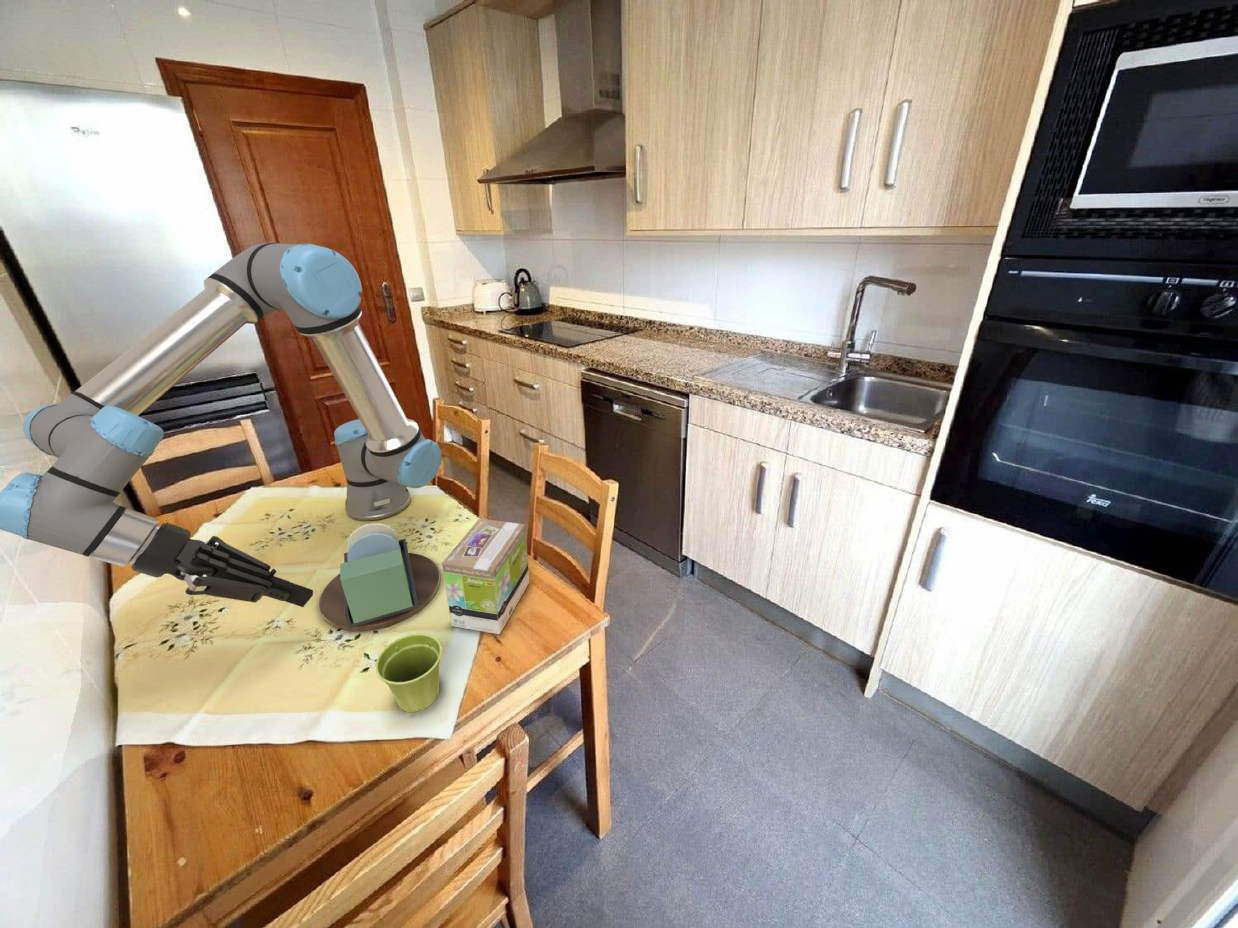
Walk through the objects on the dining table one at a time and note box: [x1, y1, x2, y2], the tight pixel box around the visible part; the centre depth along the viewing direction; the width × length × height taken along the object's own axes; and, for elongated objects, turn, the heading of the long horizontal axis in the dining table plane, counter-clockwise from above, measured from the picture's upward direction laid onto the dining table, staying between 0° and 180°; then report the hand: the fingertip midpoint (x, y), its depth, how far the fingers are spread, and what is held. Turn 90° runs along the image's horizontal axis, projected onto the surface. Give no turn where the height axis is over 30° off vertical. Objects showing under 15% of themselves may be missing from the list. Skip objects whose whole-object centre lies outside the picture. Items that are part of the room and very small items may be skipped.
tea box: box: [441, 517, 530, 635], centre depth 94 cm, size 15×10×15 cm, turn 168°
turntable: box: [318, 552, 441, 632], centre depth 101 cm, size 22×22×1 cm
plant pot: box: [374, 633, 443, 713], centre depth 77 cm, size 9×9×9 cm
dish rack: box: [339, 522, 419, 629], centre depth 98 cm, size 20×12×11 cm, turn 26°
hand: (308, 598), depth 87 cm, fingers closed
